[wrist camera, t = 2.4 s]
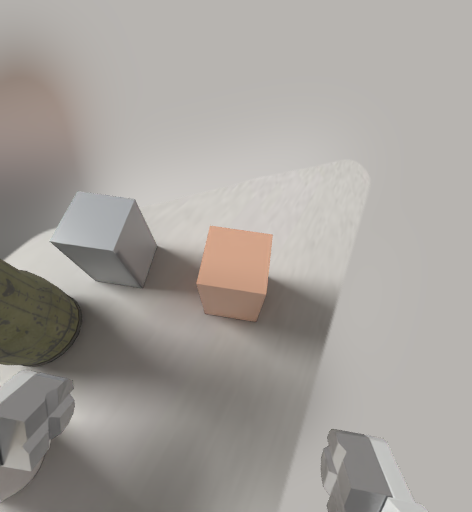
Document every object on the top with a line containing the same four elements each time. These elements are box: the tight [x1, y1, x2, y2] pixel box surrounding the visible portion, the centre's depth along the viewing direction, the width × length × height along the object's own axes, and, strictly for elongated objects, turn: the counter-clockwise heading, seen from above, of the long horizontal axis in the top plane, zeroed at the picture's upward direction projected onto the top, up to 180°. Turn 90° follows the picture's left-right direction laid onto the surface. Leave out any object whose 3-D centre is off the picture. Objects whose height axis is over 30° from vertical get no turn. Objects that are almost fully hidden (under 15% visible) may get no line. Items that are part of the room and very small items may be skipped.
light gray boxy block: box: [50, 191, 157, 288], centre depth 32 cm, size 6×6×10 cm
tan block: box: [196, 226, 273, 322], centre depth 30 cm, size 6×6×10 cm
